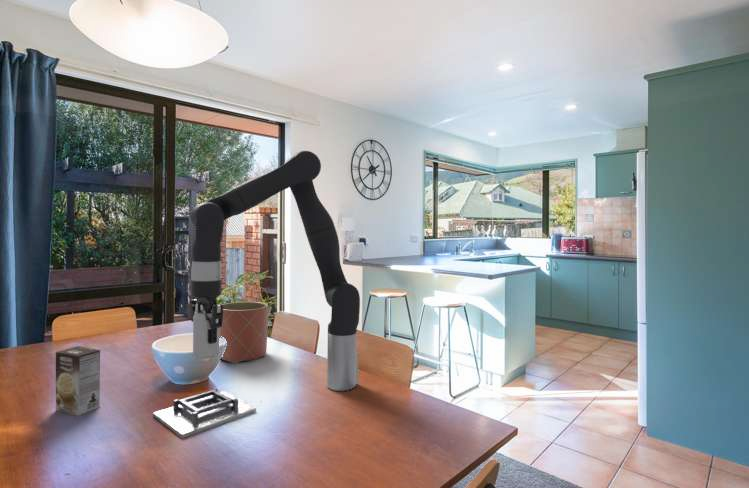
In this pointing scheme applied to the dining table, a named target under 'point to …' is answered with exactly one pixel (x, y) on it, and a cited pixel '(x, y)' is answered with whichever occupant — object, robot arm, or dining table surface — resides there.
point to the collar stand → (202, 412)
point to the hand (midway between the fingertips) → (205, 340)
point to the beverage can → (203, 338)
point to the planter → (244, 330)
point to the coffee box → (77, 380)
